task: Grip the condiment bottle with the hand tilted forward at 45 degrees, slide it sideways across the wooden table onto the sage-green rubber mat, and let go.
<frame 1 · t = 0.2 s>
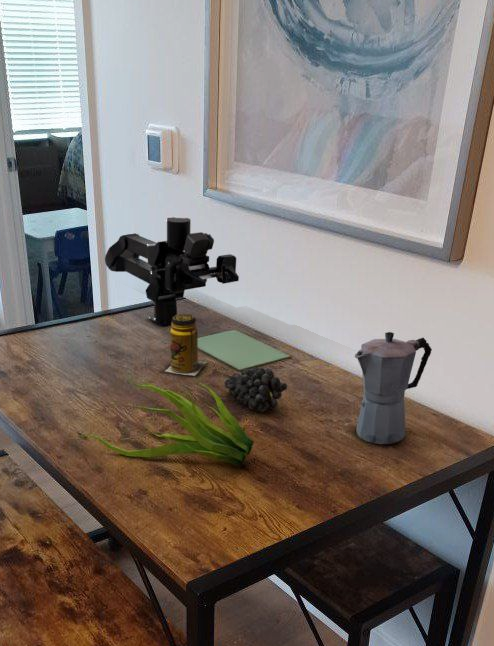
hand: (221, 281, 161), 17 cm above the table, tool horizontal, fingers open, 9 cm apart
fruit: (252, 403, 144), on the table
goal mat: (236, 349, 170), on the table
condiment: (186, 368, 160), on the table
decorative plant: (161, 457, 124), on the table
moka pot: (380, 434, 132), on the table
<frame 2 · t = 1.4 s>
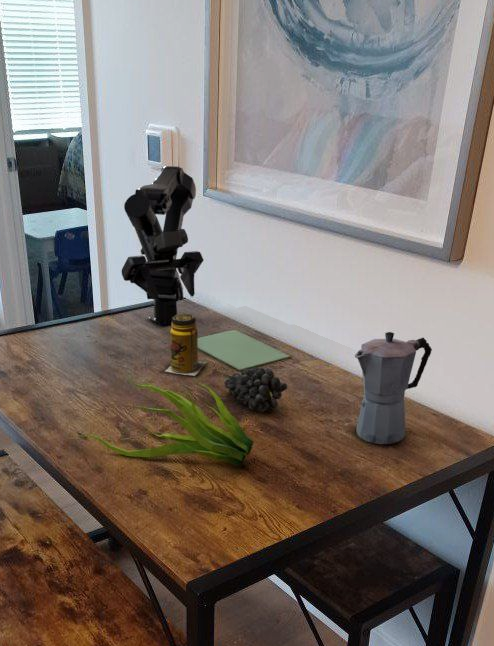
hand: (175, 297, 158), 14 cm above the table, tool tilted 45°, fingers open, 9 cm apart
nothing on the table moved.
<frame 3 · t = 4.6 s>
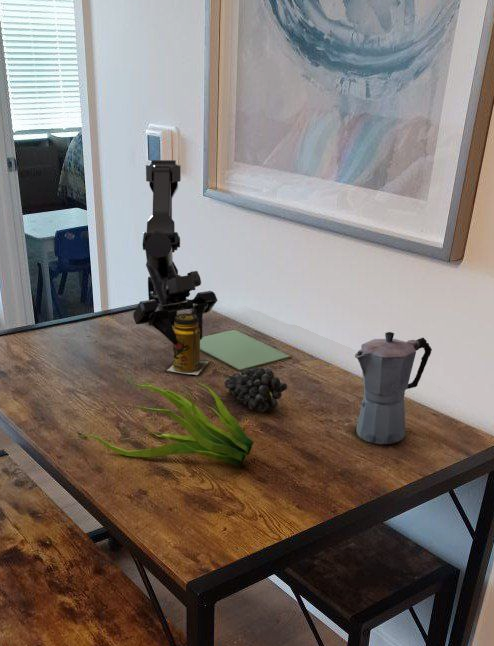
hand: (188, 341, 155), 7 cm above the table, tool tilted 45°, fingers closed on condiment, 6 cm apart
condiment: (188, 367, 160), on the table, touching gripper
everything else where it was.
when the fingers open (7 cm above the table, at t = 9.3 s): condiment stays where it is, resting on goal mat.
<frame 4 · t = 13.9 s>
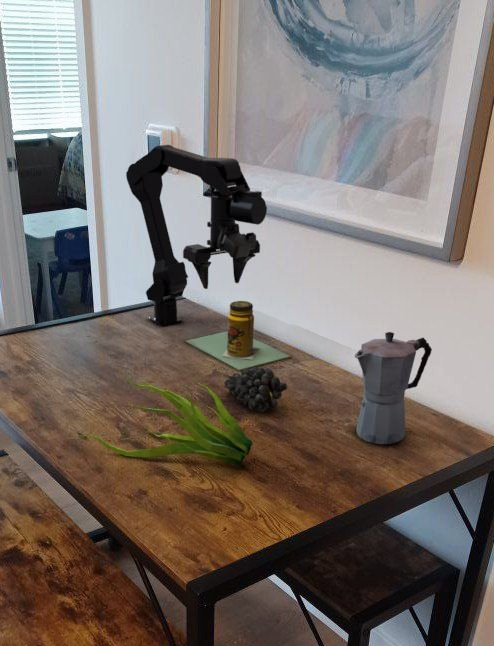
hand: (221, 285, 170), 13 cm above the table, tool pointing down, fingers open, 9 cm apart
condiment: (241, 353, 167), resting on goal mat
everything else where it was.
at the end: condiment inside the target area (0.7 cm from its centre), resting on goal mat; condiment tilted 0°; the gripper is holding nothing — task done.
